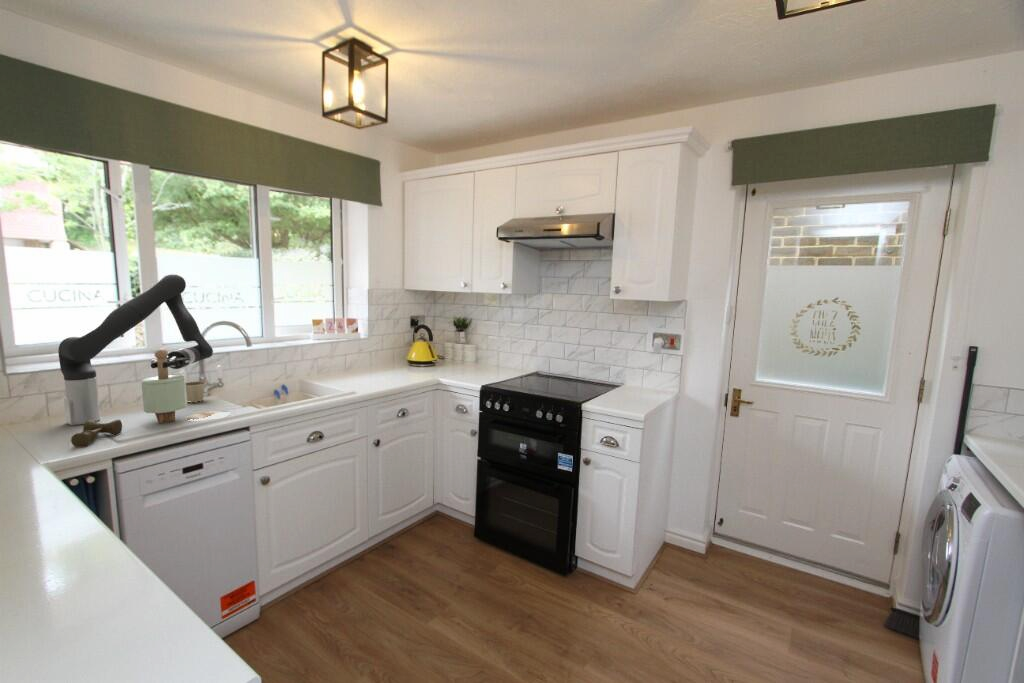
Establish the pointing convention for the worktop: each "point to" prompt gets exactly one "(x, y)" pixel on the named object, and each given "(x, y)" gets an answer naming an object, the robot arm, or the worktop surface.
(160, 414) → the cupcake
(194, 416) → the cork mat
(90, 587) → the worktop surface
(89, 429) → the kendama
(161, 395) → the green knobbed canister
